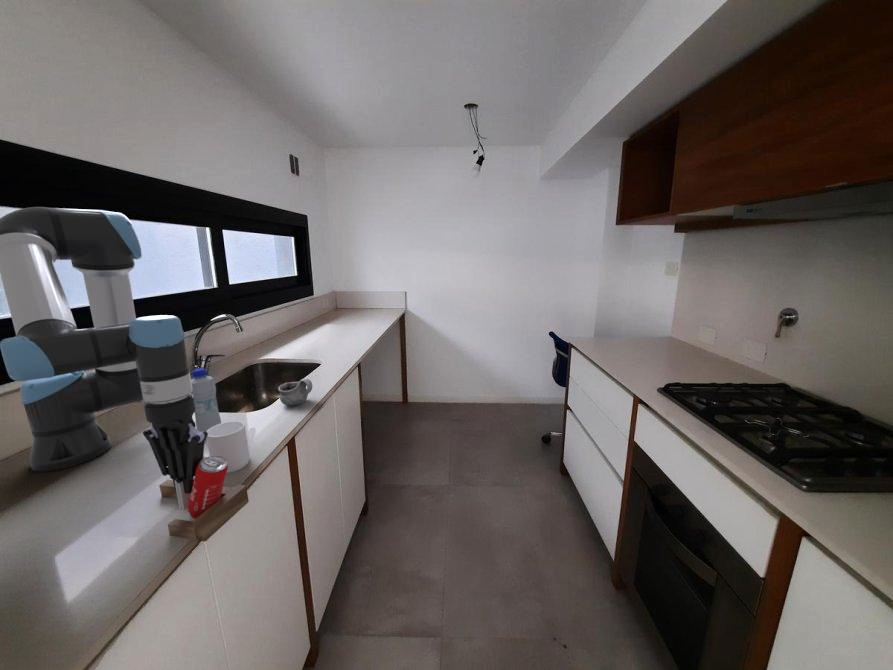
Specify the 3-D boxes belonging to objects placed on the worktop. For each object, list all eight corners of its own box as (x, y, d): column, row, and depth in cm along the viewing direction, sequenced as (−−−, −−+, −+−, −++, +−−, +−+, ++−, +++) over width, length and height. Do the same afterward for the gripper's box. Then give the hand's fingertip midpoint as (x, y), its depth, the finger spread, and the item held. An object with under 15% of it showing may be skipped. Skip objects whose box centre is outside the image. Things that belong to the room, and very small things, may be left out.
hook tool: (117, 527, 70) (113, 509, 69) (170, 491, 80) (166, 475, 79) (205, 541, 66) (201, 523, 65) (248, 501, 76) (246, 485, 75)
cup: (240, 473, 86) (234, 435, 84) (189, 476, 85) (181, 438, 83) (255, 455, 94) (250, 420, 92) (208, 457, 93) (202, 422, 91)
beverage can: (204, 524, 70) (216, 476, 67) (180, 515, 70) (190, 466, 67) (223, 506, 75) (234, 460, 72) (200, 497, 75) (210, 451, 72)
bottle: (191, 434, 106) (179, 371, 102) (213, 424, 112) (202, 364, 108) (206, 438, 104) (194, 373, 99) (228, 428, 110) (217, 366, 105)
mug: (290, 398, 133) (287, 372, 130) (321, 399, 131) (319, 373, 129) (274, 409, 123) (271, 381, 121) (308, 410, 121) (305, 382, 119)
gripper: (121, 402, 65) (144, 513, 70) (178, 407, 62) (198, 523, 67) (160, 387, 72) (179, 490, 77) (213, 392, 70) (229, 497, 75)
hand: (188, 505), depth 72 cm, fingers closed
